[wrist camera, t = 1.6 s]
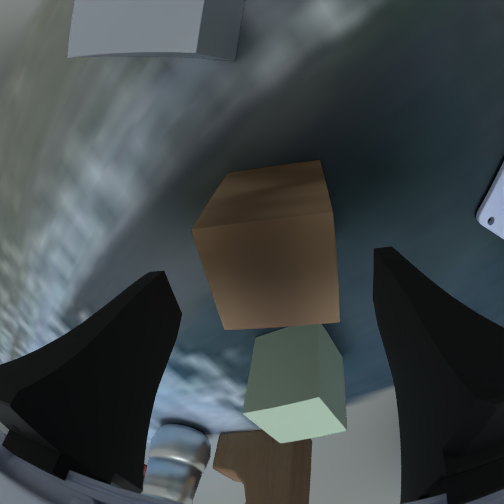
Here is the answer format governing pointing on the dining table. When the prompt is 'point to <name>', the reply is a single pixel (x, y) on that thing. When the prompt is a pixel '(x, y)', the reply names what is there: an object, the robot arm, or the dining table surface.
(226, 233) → the walnut block
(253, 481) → the wooden block
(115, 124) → the dining table surface
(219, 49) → the grey block
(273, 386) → the sage block
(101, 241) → the dining table surface
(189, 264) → the dining table surface
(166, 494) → the plastic bottle
